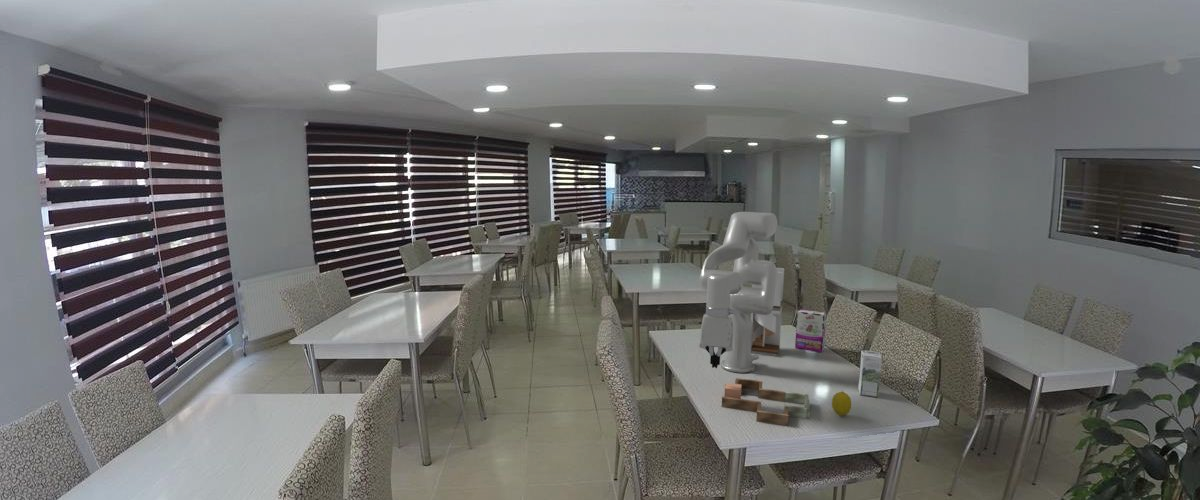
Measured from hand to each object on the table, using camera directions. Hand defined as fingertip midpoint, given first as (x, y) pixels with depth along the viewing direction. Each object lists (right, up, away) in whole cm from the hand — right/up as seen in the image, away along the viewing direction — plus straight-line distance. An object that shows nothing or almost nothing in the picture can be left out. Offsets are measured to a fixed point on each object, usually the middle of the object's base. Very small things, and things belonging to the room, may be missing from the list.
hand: (714, 366), depth 181 cm
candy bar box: (+52, -4, +54) cm, 75 cm away
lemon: (+37, -13, -10) cm, 41 cm away
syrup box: (+54, -11, +8) cm, 56 cm away
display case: (+31, -4, +51) cm, 60 cm away
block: (+6, -11, 0) cm, 13 cm away
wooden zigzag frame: (+15, -12, -3) cm, 20 cm away
